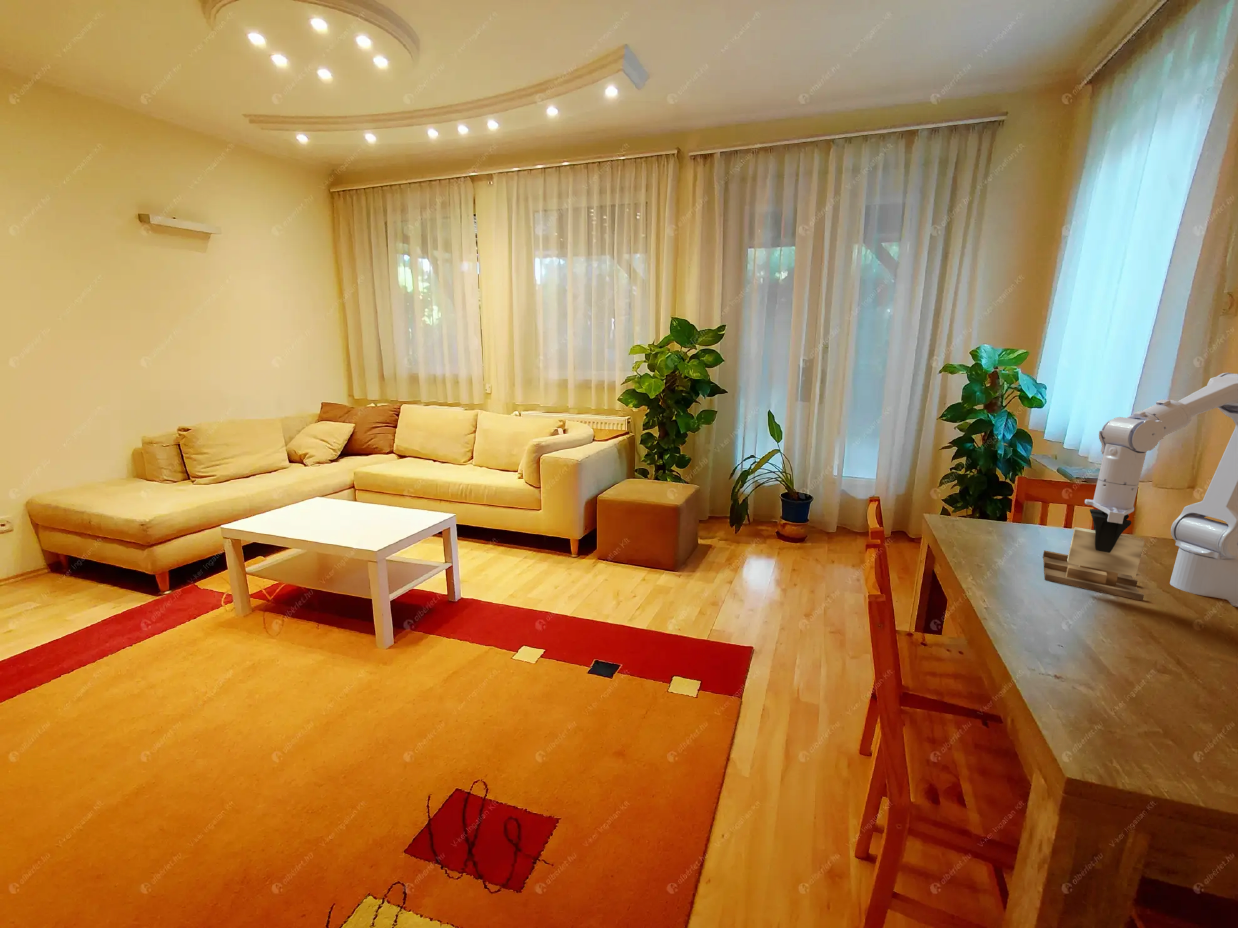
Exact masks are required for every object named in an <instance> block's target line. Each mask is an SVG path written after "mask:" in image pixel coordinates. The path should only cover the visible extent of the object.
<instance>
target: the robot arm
mask: <svg viewBox="0 0 1238 928" xmlns="http://www.w3.org/2000/svg"><path fill="white" fill-rule="evenodd" d="M1214 409H1218V410H1219V411H1220V412H1222V414H1224V415H1225V416H1226V417H1228V418H1231V420H1233V422H1234V424H1235V426H1234V430H1233V432H1232V433H1231V436H1230V439H1229V441H1228V442H1227V445H1226V448H1225V450H1224V452H1223V454H1222V457H1221V459H1220V460H1219V462H1218V465H1217V468H1216V469H1215V472H1214V475H1213V477H1212V479H1211V481H1210V483H1209V485H1208V488H1207V490H1206V491H1205V494H1204V496H1203V499H1202V500H1201V501H1199V502H1195V503H1191V504H1189V505H1186V506H1184V507H1183V509H1182V511H1181V513H1180V515H1178V517H1177V518H1176V519H1175V520H1174V521H1173V522H1172V524H1171V526H1170V527H1171V528H1170V535H1171V537H1172V539H1173V540H1174V541H1175V546H1176V547H1178V551H1177V554H1176V558H1175V563H1174V565H1173V570H1172V573H1171V577H1170V581H1169V584H1170V586H1171V587H1174V588H1175V589H1177V590H1178V589H1179V590H1181V591H1183V592H1186V593H1190V594H1194V595H1198V596H1202V597H1211V598H1216V599H1217V598H1218V599H1222V600H1227V602H1229V603H1230V605H1231V607H1237V608H1238V373H1234V372H1223V373H1220V374H1218V375H1217V376H1214V377H1211V378H1210V379H1209V380H1208V382H1207V384H1206V385H1205V386H1203V387H1202V388H1200V389H1198V390H1196V391H1194V392H1192V393H1190V394H1189V395H1187V396H1185V397H1183V398H1181V399H1180V400H1173V399H1164V398H1163V399H1159V400H1157V401H1156V402H1155V404H1153V405H1151V406H1150V407H1147V408H1145V409H1142V410H1138V411H1135V412H1133V414H1131V415H1129V416H1127V417H1123V416H1118V417H1114V418H1113V419H1110V420H1108V421H1107V422H1105V424H1104V425H1103V426H1102V428H1101V429H1100V430H1099V431H1098V440H1099V442H1100V444H1101V446H1100V447H1101V448H1100V452H1101V455H1102V459H1101V463H1100V469H1099V473H1098V476H1097V477H1098V478H1097V481H1096V487H1095V491H1094V495H1093V499H1089V498H1088V499H1087V498H1086V499H1084V504H1085V505H1086V506H1087V505H1088V506H1092V507H1094V508H1090V509H1089V512H1090V515H1091V518H1092V522H1093V530H1095V548H1096V550H1097V551H1102V552H1108V553H1110V552H1111V551H1112V549H1113V547H1114V546H1115V544H1116V542H1117V540H1118V538H1119V537H1120V535H1123V533H1124V532H1125V531H1126V529H1128V528H1129V527H1130V526H1131V525H1132V524H1133V523H1132V520H1131V519H1129V518H1130V515H1129V514H1131V513H1133V512H1134V511H1135V501H1136V497H1137V492H1138V488H1139V484H1140V482H1141V481H1140V479H1141V476H1142V472H1143V467H1144V465H1145V464H1144V463H1145V459H1146V455H1147V452H1150V451H1152V450H1153V449H1154V448H1156V447H1157V446H1158V444H1159V442H1160V441H1161V440H1163V439H1164V438H1165V437H1166V436H1168V435H1170V434H1172V433H1174V432H1177V431H1178V430H1181V429H1183V428H1186V427H1188V426H1189V425H1190V423H1191V421H1192V418H1193V417H1195V416H1197V415H1200V414H1204V413H1206V412H1208V411H1209V412H1210V411H1211V410H1214ZM1095 508H1096V509H1095ZM1206 517H1209V518H1206ZM1211 518H1212V519H1211ZM1214 519H1216V520H1214ZM1218 520H1220V521H1218ZM1223 521H1224V522H1223Z"/></svg>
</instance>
